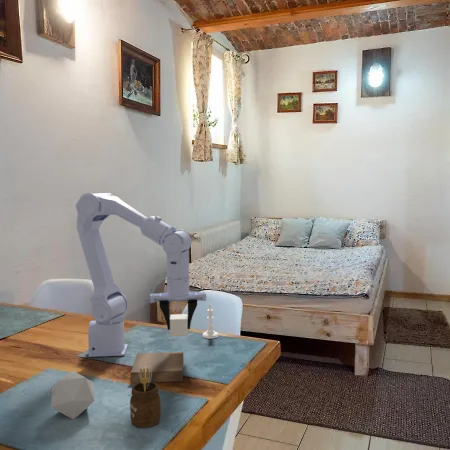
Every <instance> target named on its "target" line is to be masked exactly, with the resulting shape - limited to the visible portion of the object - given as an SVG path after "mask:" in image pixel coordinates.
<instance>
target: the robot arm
mask: <svg viewBox="0 0 450 450" xmlns="http://www.w3.org/2000/svg"><path fill="white" fill-rule="evenodd" d="M75 208H76V209H75V210H76V212H77V215H76V216H77V218H76V230H77V234H78V237H79V241H80V244H81V247H82V251H83V254H84V258H85V262H86V265H87V268H88V271H89V275H90V279H91V282H92V286H93V292H92V294H91V296H90V302H91V308H90V313H91V316H92V318H93V320H90V321H89V323H88V324H89V325H88V328H87V329H88V330H87V331H88V332H87V335H88V336H87V337H88V358H91V357H92V358H93V357H94V358H96V357H97V358H98V357H118V356H119V357H123V356H125V354H126V351H127V349H128V346H129V345H128V343H125V313H126V311H127V310H128V308H129V302H128V301H129V300H128V299H127V297H126V296H125V294H124V293H123V292H122V288H121V287H120V286H119V285H117V284H116V283H115V281H114V278H113V274H112V271H111V267H110V265H109V260H108V258H107V257H108V256H107V253H106V249H105V247H104V244H103V240H102V237H101V234H100V233H101V232H100V227H101V225H102V224H103V223H104V221H105V220H106V219H107V218H108V217H110V216H112V215H114V216H117V217H119V218H121V219H123V220H124V221H126V222H128V223H129V224H132V225H134V226H136V227H138V228H139V229H140V233H141V235H142V236H145V238H147V239H150V240H151V241H153V243H156V244H158V245H159V246H161V247H162V249H163V251H164V252H165V254H166V285H167V286H166V288H167V289H166V291H167V292H159V293H150V295H149V303H151V304H154V303H159V304H158V305H159V306H158V307H159V308H160V310H161V312H162V314H163V316H164V319H165V322H166V325H167V326H166V327H167V328H166V329H167V330H169V331H170V315H171V313H170V311H171V309H170V302H187V321H188V330H190V329H191V325H192V324H191V323H192V320H193V317H194V313H195V311H196V309H197V306H198V302H199V301H201V302H207V292H206V291H190V268H189V267H190V259H189V254H190V253H189V249H191V247H192V242H193V241H192V237H191V235H190V234H189V232H188V231H186V230H185V229H177V227H176V226H175V225H170V224H168V223H166V222H164V221H163V220H162V217H161V216H159V215H156V216H154V215H150V216H146V215H144V214H143V213H141V212H139V211H138V210H137V209H135V208H133V207H132V206H130V205H129V204H128V203H126V202H125V201H123V200H122V199H121V198H120V197H119V196H116V195H113V194H112V193H110V192H107V191H106V192H100V193H99V192H97V193H94V192H93V193H91V192H88V193H83V194H82V195H81V196H80V198H79V199H78V201H77V202H76V204H75Z"/></svg>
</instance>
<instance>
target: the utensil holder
mask: <svg viewBox="0 0 450 450" xmlns="http://www.w3.org/2000/svg"><path fill="white" fill-rule="evenodd" d="M148 364H149V363H148ZM142 366H143V364H142ZM150 366H151V365H150ZM150 366H149V370H150ZM143 374H144V378H142V368H141V369H140V383H134V385H132V387H131V392H130V393H131V396H130V400H129V401H130V402H129V414H130V423H131V425H132V426H134V427H135V428H138V429H146V428H147V429H148V428H152V427H154V426H157V425H158V424H159V422H161V417H162V405H161V402H162V401H161V395H160V392H159V390H160V389H159V386H158V383H157V382H149V380H150V377H149V375H148V368H147V378H145V376H146V363H145V368H144V369H143ZM151 376H152V370H151ZM150 381H151V380H150Z"/></svg>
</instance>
